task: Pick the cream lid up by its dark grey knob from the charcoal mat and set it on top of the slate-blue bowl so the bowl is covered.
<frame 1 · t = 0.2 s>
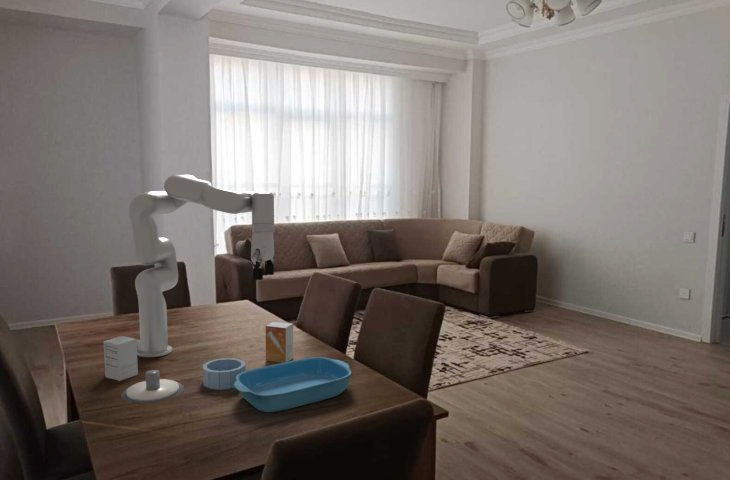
hand: (263, 277, 194), 31 cm above the table, tool pointing down, fingers open, 9 cm apart
small box: (279, 360, 202), on the table
bowl: (224, 383, 179), on the table
lid: (153, 391, 171), resting on mat
supplement box: (121, 377, 184), on the table
mat: (153, 392, 171), on the table
casserole dish: (294, 396, 170), on the table
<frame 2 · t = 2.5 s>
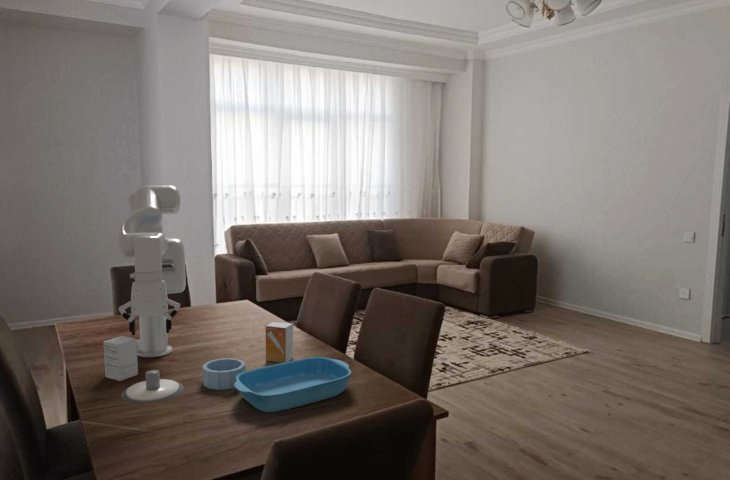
hand: (150, 333, 168), 19 cm above the table, tool pointing down, fingers open, 9 cm apart
nothing on the table moved.
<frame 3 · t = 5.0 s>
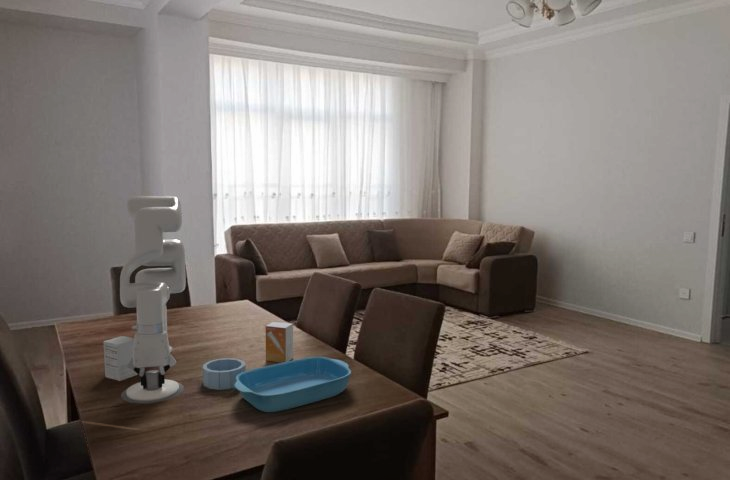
hand: (152, 386, 171), 2 cm above the table, tool pointing down, fingers closed on lid, 4 cm apart
lid: (153, 391, 171), resting on mat, touching gripper
everything else where it was.
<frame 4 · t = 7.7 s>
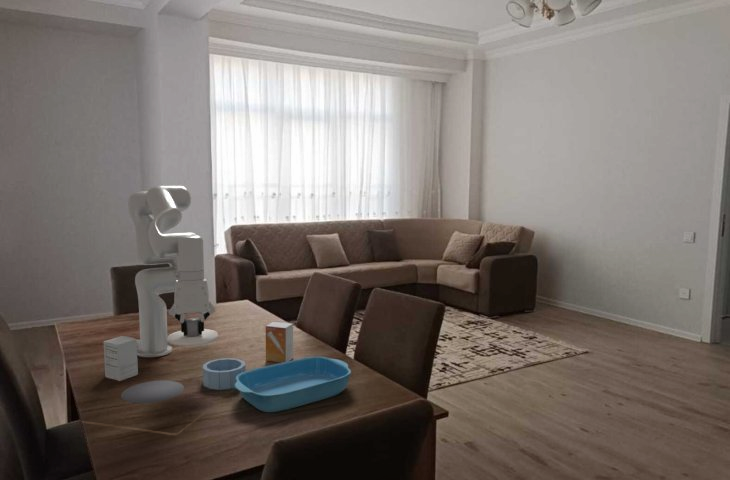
hand: (192, 333, 174), 17 cm above the table, tool pointing down, fingers closed on lid, 4 cm apart
lid: (192, 338, 174), point 16 cm above the table, touching gripper
everything else where it was.
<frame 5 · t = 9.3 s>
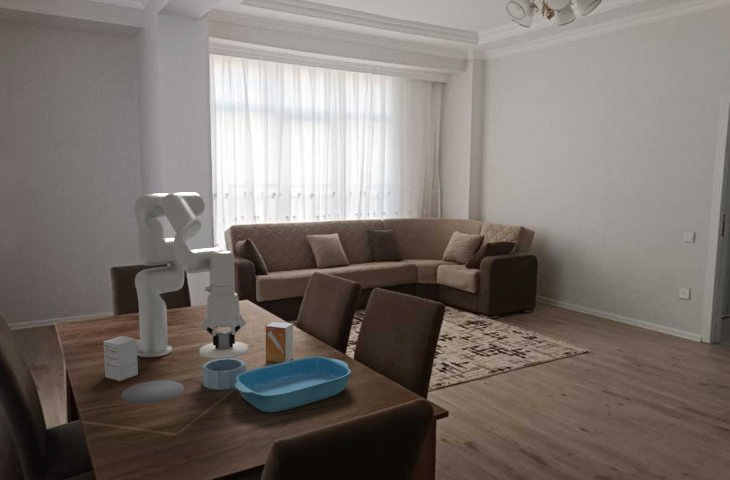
hand: (224, 346, 178), 12 cm above the table, tool pointing down, fingers closed on lid, 4 cm apart
lid: (224, 351, 178), point 11 cm above the table, touching gripper
everything else where it was.
when the fingers open (9 cm above the table, at t = 10.6 s): lid drops 1 cm, resting on bowl.
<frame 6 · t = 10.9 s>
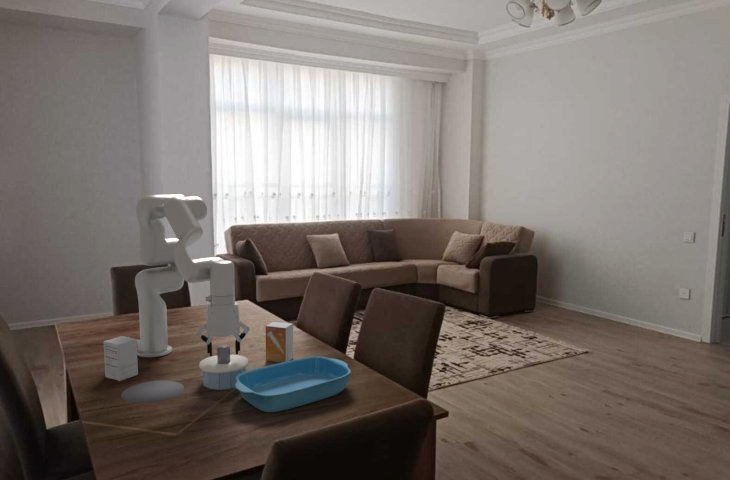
hand: (223, 353, 178), 10 cm above the table, tool pointing down, fingers open, 7 cm apart
lid: (224, 364, 179), point 6 cm above the table, touching bowl
everything else where it was.
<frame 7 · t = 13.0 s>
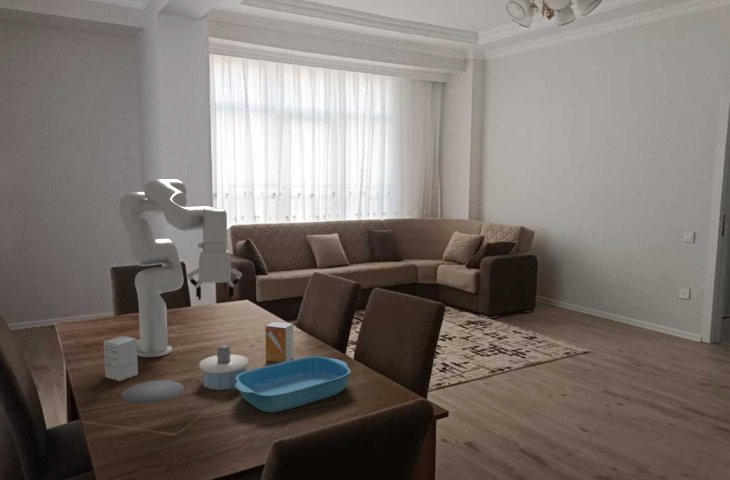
hand: (214, 298, 184), 26 cm above the table, tool pointing down, fingers open, 9 cm apart
nothing on the table moved.
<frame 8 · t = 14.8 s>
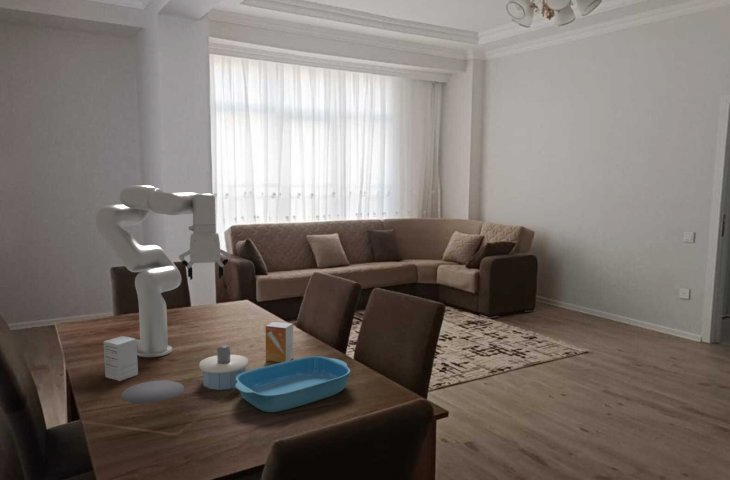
hand: (205, 278, 195), 30 cm above the table, tool pointing down, fingers open, 9 cm apart
nothing on the table moved.
at the end: lid 0.0 cm off-centre on the bowl, point 6.0 cm above the bowl's base; lid tilted 0°; the gripper is holding nothing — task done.
